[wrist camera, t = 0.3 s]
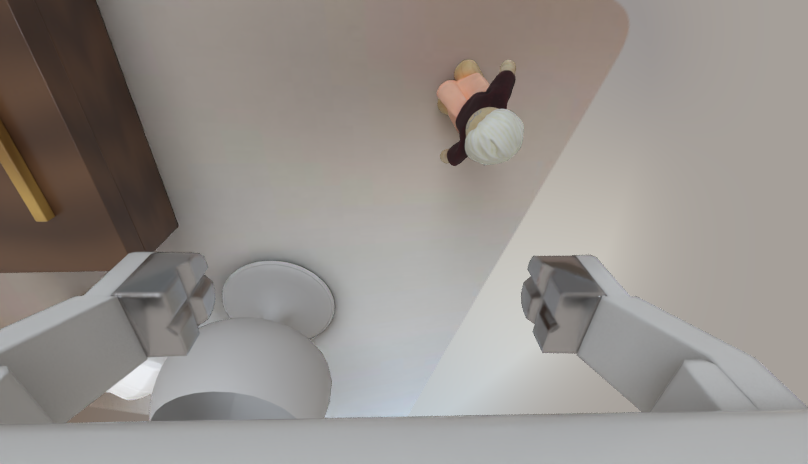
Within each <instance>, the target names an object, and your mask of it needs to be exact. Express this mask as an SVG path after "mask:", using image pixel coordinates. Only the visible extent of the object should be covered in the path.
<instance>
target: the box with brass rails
mask: <svg viewBox="0 0 808 464" xmlns="http://www.w3.org/2000/svg"><path fill="white" fill-rule="evenodd" d="M177 227H178V224H177V221H176V218H175V216H174V213H173V210H172V208H171V205H170V202H169V199H168V197H167V194H166V191H165V189H164V186H163V183H162V180H161V178H160V175H159V172H158V170H157V167H156V164H155V161H154V159H153V156H152V153H151V151H150V148H149V145H148V142H147V140H146V137H145V134H144V131H143V129H142V126H141V123H140V121H139V118H138V115H137V112H136V110H135V107H134V104H133V102H132V99H131V96H130V93H129V91H128V88H127V85H126V83H125V80H124V77H123V74H122V72H121V69H120V66H119V64H118V61H117V58H116V55H115V53H114V50H113V47H112V45H111V42H110V39H109V36H108V34H107V31H106V28H105V26H104V23H103V20H102V17H101V15H100V12H99V9H98V7H97V4H96V1H95V0H0V273H20V272H80V271H110V270H112V269H113V268H114V267H115V266H116V265H117V264H118V263H119V262H120V261H121V260H122V259H123V258H124V257H126V256H127V255H128V254H129V253H133V252H154V251H155V250H156V249H157V248H158V247H159V246H160V245H161V244H162V243H163V242H164V241H165V239H166V238H167V237H168V236H169V235H170V234H171V233H172V232H173V231H174V230H175V229H176V228H177Z"/></svg>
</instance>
